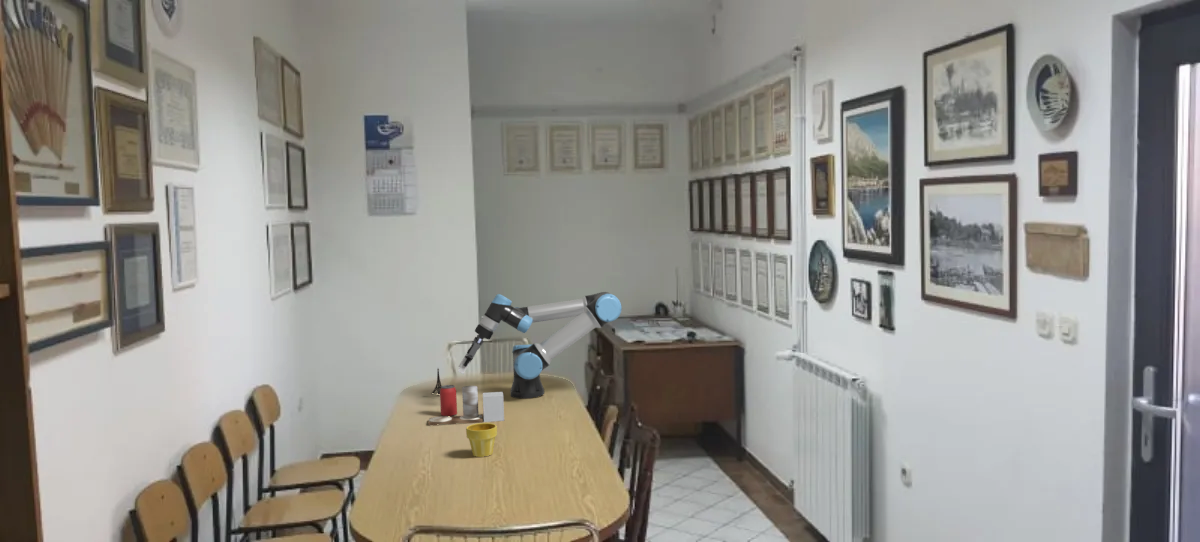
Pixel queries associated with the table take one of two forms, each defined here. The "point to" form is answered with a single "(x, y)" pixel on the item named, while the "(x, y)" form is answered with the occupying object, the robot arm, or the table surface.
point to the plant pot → (482, 438)
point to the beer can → (448, 400)
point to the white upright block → (493, 406)
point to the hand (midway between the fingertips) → (460, 370)
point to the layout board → (468, 409)
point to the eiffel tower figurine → (438, 383)
